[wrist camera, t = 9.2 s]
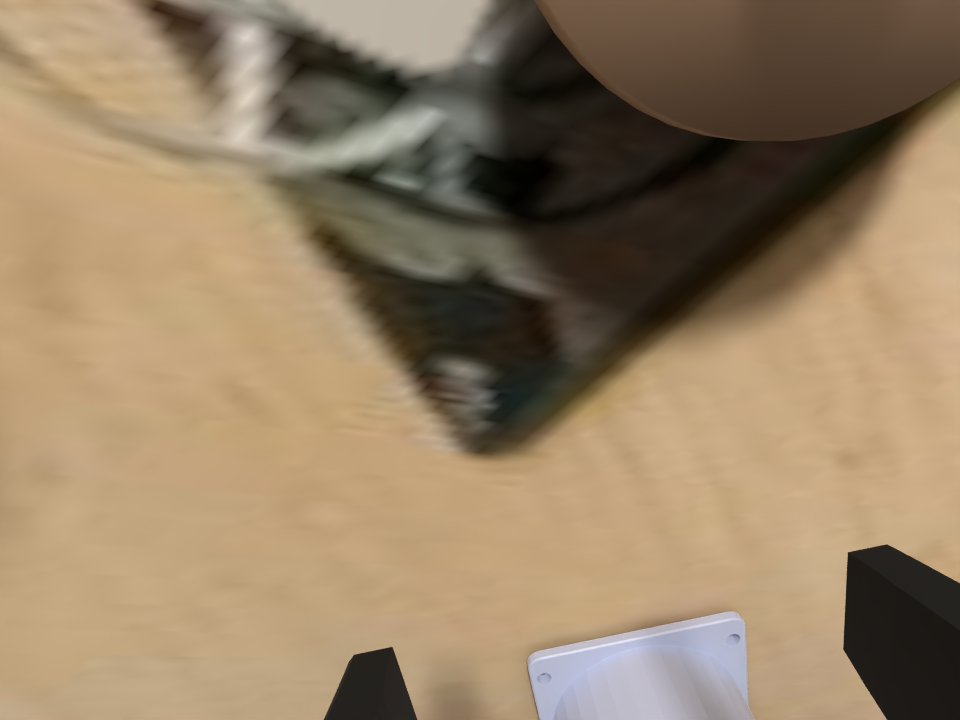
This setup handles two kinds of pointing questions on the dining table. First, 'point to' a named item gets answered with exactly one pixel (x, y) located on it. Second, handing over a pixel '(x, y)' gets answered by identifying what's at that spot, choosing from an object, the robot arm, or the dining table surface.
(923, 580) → the robot arm
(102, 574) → the dining table surface
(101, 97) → the dining table surface
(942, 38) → the lid
